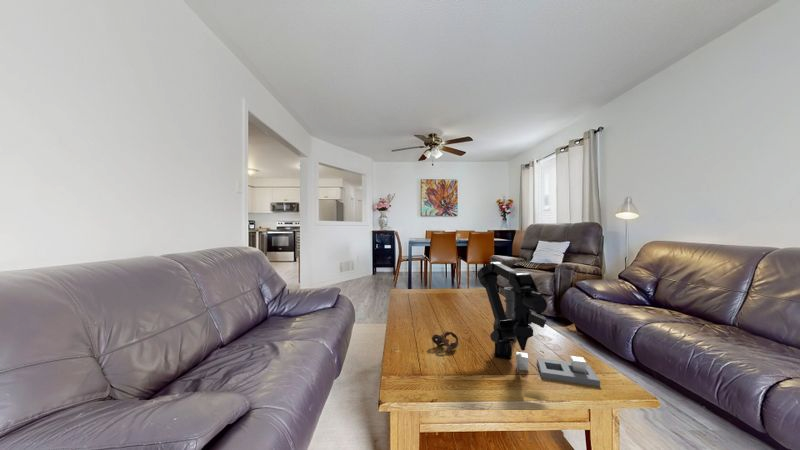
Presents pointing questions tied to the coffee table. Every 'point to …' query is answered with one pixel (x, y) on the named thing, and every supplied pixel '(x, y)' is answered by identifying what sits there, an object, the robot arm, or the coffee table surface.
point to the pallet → (566, 372)
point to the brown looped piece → (445, 340)
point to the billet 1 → (521, 361)
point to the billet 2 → (578, 365)
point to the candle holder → (509, 303)
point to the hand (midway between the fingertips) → (521, 345)
